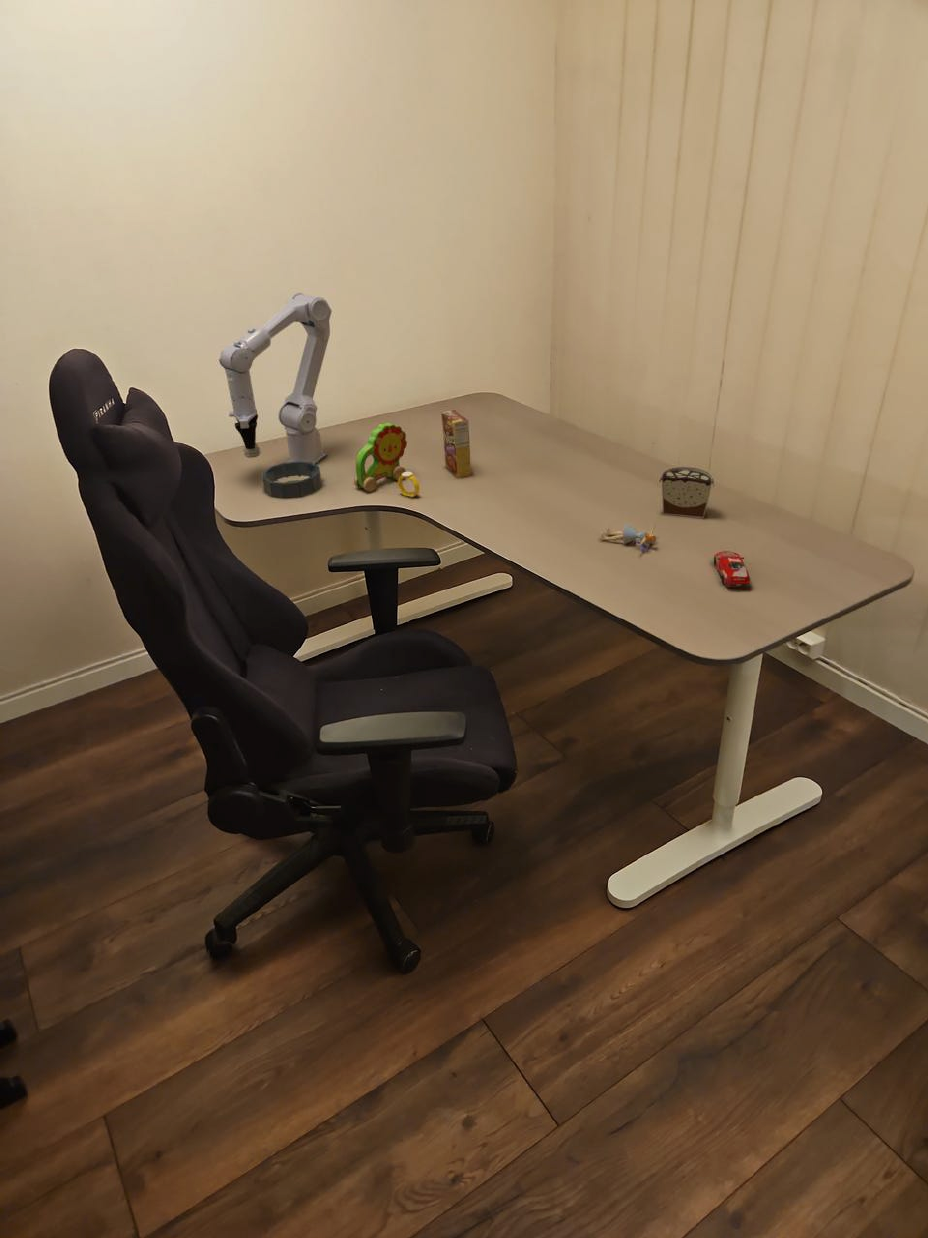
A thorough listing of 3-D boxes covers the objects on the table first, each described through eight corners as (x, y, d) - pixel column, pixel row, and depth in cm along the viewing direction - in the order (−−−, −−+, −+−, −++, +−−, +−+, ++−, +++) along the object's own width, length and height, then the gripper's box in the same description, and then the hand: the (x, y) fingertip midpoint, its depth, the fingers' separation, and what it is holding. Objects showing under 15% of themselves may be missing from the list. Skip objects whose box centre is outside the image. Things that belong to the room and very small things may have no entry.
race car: (711, 559, 188) (713, 543, 186) (737, 559, 188) (739, 542, 186) (723, 590, 177) (725, 573, 175) (750, 590, 177) (753, 573, 175)
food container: (713, 508, 210) (717, 468, 204) (710, 519, 205) (715, 478, 199) (660, 502, 213) (663, 463, 208) (656, 513, 208) (659, 473, 203)
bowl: (283, 472, 239) (281, 458, 237) (331, 478, 234) (329, 464, 232) (254, 494, 228) (251, 479, 226) (303, 500, 223) (301, 486, 221)
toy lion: (367, 494, 225) (360, 437, 216) (353, 488, 228) (347, 432, 220) (413, 475, 234) (409, 420, 226) (400, 470, 237) (395, 415, 229)
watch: (422, 496, 222) (420, 474, 219) (415, 500, 220) (413, 478, 217) (404, 491, 225) (402, 469, 222) (396, 495, 224) (395, 473, 220)
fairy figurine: (614, 513, 201) (665, 518, 195) (615, 532, 204) (665, 537, 197) (593, 533, 193) (645, 539, 187) (594, 553, 195) (645, 559, 189)
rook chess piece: (257, 458, 231) (252, 429, 226) (241, 457, 231) (235, 428, 227) (263, 452, 234) (258, 422, 230) (248, 451, 235) (242, 422, 231)
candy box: (443, 466, 238) (440, 411, 230) (458, 463, 239) (456, 409, 231) (456, 478, 231) (453, 422, 223) (471, 475, 232) (469, 419, 224)
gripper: (227, 387, 230) (237, 437, 237) (223, 405, 218) (233, 457, 225) (255, 385, 231) (263, 434, 238) (252, 402, 218) (261, 454, 226)
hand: (251, 445), depth 231 cm, fingers closed on rook chess piece, 3 cm apart
